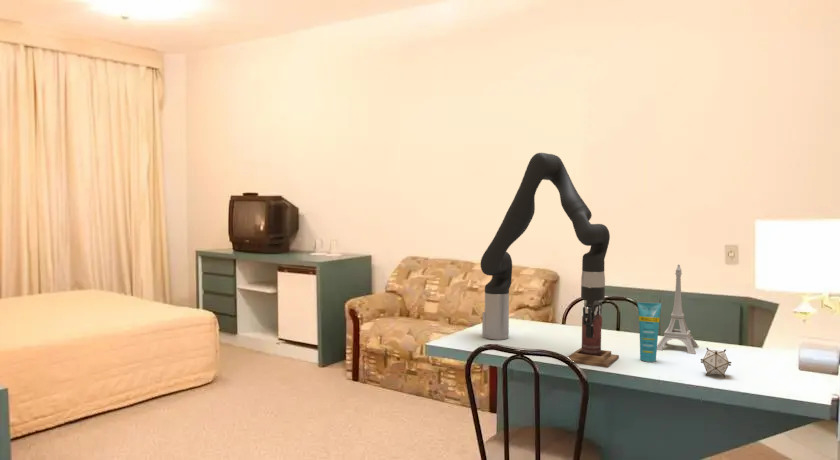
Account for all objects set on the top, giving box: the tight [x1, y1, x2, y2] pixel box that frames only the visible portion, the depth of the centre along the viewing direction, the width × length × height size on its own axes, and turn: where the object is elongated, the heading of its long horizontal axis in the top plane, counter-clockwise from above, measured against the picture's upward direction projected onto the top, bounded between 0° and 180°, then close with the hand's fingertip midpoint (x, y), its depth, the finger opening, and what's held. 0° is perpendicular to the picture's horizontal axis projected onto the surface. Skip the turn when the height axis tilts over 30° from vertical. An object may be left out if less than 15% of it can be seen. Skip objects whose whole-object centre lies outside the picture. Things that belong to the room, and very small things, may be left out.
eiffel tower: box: [657, 264, 700, 355], centre depth 225 cm, size 13×13×30 cm
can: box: [581, 313, 603, 356], centre depth 208 cm, size 6×6×14 cm
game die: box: [700, 347, 732, 378], centre depth 190 cm, size 9×8×10 cm
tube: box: [636, 301, 662, 363], centre depth 208 cm, size 7×5×19 cm, turn 73°
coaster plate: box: [567, 347, 620, 369], centre depth 209 cm, size 14×14×2 cm
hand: (592, 335), depth 208 cm, fingers open, 6 cm apart
